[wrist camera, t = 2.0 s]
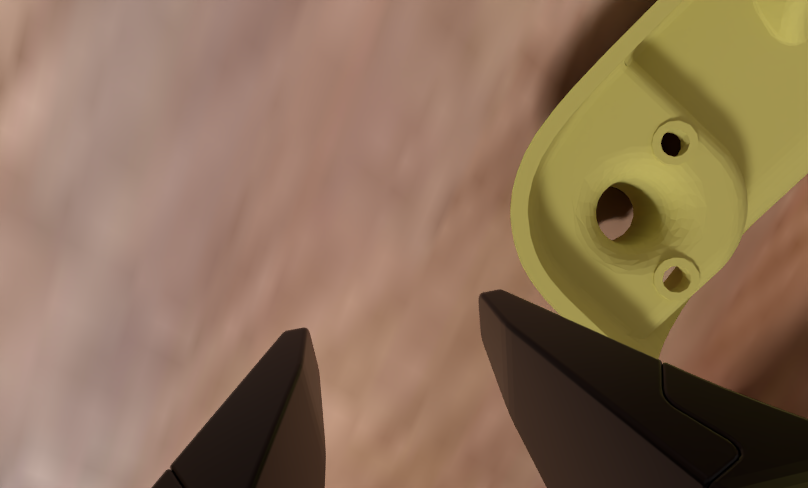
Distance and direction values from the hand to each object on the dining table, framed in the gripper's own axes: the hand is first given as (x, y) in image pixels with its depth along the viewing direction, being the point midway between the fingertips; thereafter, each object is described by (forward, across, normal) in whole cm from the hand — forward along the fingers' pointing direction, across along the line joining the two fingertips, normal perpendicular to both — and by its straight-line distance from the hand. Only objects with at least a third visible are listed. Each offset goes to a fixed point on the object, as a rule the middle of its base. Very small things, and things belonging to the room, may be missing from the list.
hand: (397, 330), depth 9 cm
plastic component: (+12, -14, 0) cm, 19 cm away
